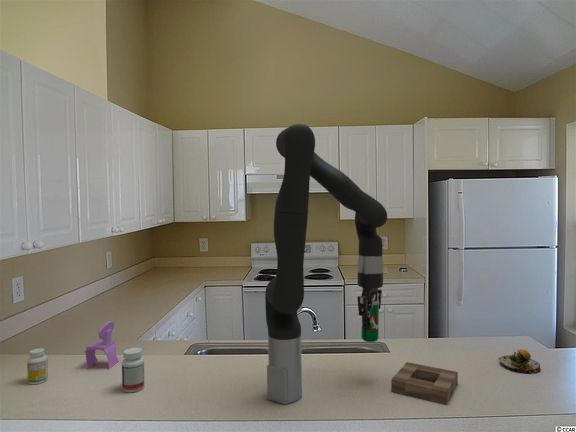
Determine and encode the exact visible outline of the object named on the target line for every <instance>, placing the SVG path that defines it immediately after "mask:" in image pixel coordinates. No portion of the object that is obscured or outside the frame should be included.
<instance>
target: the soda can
mask: <svg viewBox="0 0 576 432" xmlns="http://www.w3.org/2000/svg"><path fill="white" fill-rule="evenodd" d="M377 301H378V300H374V305H373V309H372V310H371V316H370V329H369V330H365V329H363V328H362V317H363V316H361V319H360V320H361V324H360V325H361V330H360V331H361V340H363V341H364V342H369V343H375V342H377V341H379V338H380V337H379V329H380V328H379V327H380V325H379V323H380V322H379V319H380V318H379V317H380V316H379V313H380V309H379V303H378V302H377ZM367 305H368V306H370V305H369V304H367Z"/></svg>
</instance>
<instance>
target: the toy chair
mask: <svg viewBox="0 0 576 432" xmlns="http://www.w3.org/2000/svg"><path fill="white" fill-rule="evenodd" d="M114 328H115V323H114V321H112V320H110V321H107V322H105V324H103V325H102V326H101V327H100V328H99V331H98V338H99V339H100V340H99V339H98V340H96V341H94V342H92V343H90V344H89V345H87V346H86V347H85V351H84V353H85V363H86V364H85V365H86V366H85V369H90V367H92V366H94V365H95V364H97V363H98V362H99V360H98V358H97V356H96V350H98V351H103V352H104V353H105V355H106V358H107V363H108V364H107V365H108V366H107V368H108V369H110V368H111V369H113V368H114V367H115V366H116V365H115V364H117V363H118V362H120V360H119V358H118V357H117V356H118V355H117V345H116V342H115V340H112V334H113V330H114ZM96 362H97V363H96ZM93 364H94V365H93ZM118 364H119V363H118ZM118 364H117V365H118ZM114 365H115V366H114ZM113 366H114V367H113ZM112 367H113V368H112ZM111 369H110V370H111Z"/></svg>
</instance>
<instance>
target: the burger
mask: <svg viewBox="0 0 576 432" xmlns="http://www.w3.org/2000/svg"><path fill="white" fill-rule="evenodd" d="M530 353H531V352H529V351H528V350H527V349H522V348H518V349H516V351H514V352H513V354H511V355H503V356H500V357H498V360H499V362H500V363H501V364H502V365H504V366H505V367H507V368H510V369H512V370H516V371H517V372H516V373H518V374H522V373H523V374H526V372H527V371H528V372H529V374H531V375H533V374H532V373H534V374H536V373H538V372H539V371H540V372H541V364H540V363H539V362H538V361H536V360H534V359H532V358H531V357H532V356H531V354H530Z"/></svg>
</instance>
